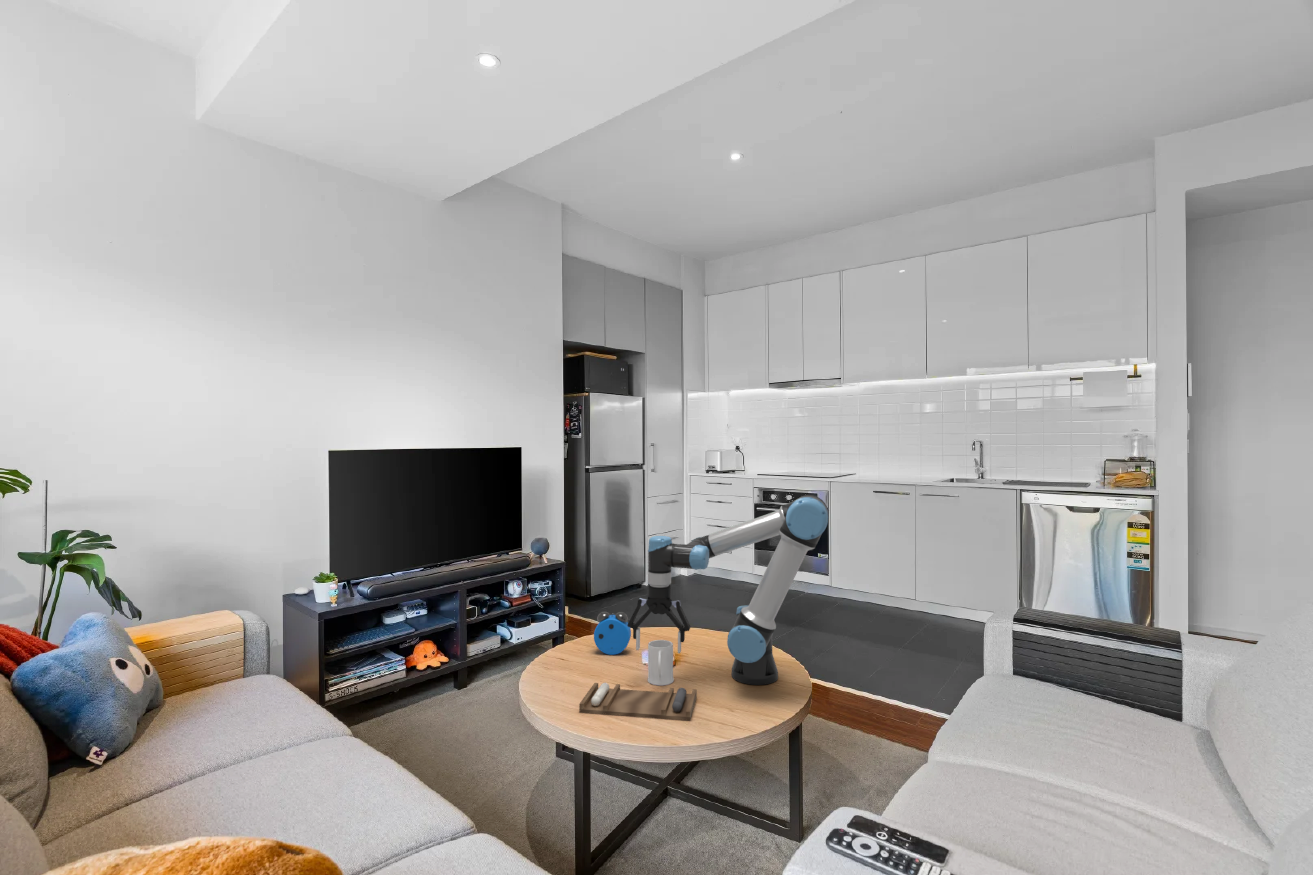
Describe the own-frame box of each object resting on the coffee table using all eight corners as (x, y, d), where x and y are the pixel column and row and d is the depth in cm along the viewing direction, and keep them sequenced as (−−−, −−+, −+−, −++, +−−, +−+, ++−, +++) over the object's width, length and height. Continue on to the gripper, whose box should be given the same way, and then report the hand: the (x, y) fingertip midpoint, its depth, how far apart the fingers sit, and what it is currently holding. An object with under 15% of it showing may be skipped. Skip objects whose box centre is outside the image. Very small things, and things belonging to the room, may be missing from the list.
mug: (670, 690, 195) (670, 651, 195) (643, 688, 196) (643, 650, 196) (675, 676, 207) (675, 639, 207) (649, 674, 208) (649, 638, 208)
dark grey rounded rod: (687, 695, 188) (687, 686, 188) (681, 713, 176) (681, 703, 176) (677, 695, 189) (677, 685, 189) (671, 713, 176) (671, 703, 176)
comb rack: (696, 697, 189) (696, 689, 189) (690, 720, 173) (690, 711, 173) (594, 690, 195) (594, 682, 195) (579, 712, 179) (579, 703, 179)
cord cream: (610, 690, 192) (610, 681, 192) (599, 707, 180) (599, 698, 180) (601, 689, 193) (601, 680, 193) (590, 707, 180) (589, 697, 180)
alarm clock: (631, 650, 232) (631, 610, 232) (629, 656, 226) (628, 614, 226) (596, 649, 233) (596, 609, 234) (593, 655, 227) (593, 614, 227)
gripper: (699, 584, 203) (698, 649, 203) (624, 580, 207) (623, 643, 207) (696, 589, 196) (695, 657, 196) (619, 585, 200) (618, 651, 200)
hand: (658, 650), depth 202 cm, fingers open, 13 cm apart
